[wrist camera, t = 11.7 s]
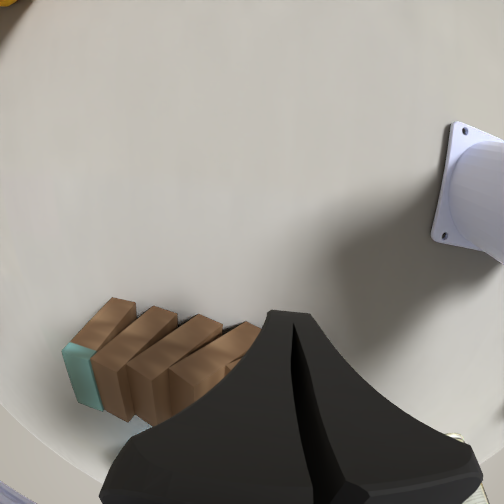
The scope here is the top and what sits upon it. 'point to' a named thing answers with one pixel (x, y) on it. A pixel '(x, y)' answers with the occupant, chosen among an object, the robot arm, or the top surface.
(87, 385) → the domino
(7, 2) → the bucket of meat
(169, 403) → the domino
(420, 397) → the top surface
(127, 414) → the domino
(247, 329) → the domino
